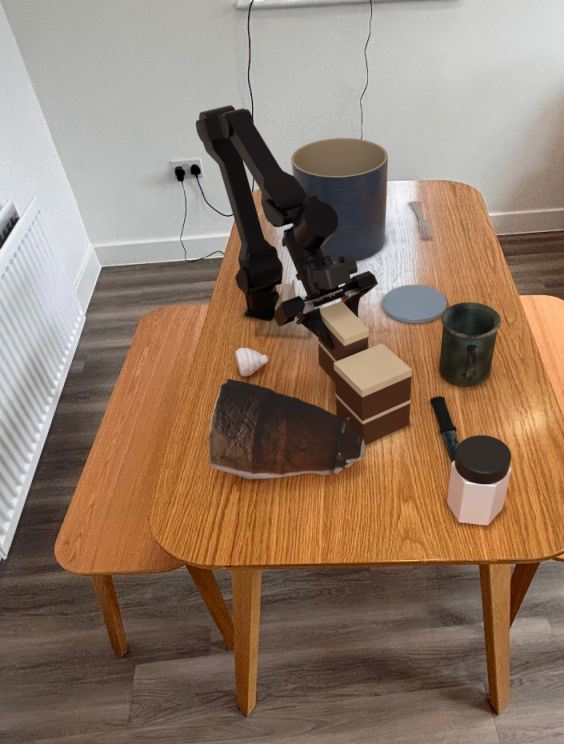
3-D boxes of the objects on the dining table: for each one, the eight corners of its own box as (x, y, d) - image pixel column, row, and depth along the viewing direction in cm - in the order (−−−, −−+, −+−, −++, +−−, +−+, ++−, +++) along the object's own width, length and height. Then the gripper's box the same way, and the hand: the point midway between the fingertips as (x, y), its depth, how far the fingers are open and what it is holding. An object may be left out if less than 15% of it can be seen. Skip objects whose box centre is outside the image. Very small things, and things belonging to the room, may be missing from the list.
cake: (336, 418, 118) (333, 362, 109) (381, 398, 122) (382, 342, 112) (363, 446, 113) (361, 390, 104) (409, 425, 117) (412, 369, 107)
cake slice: (318, 364, 122) (317, 309, 112) (340, 355, 124) (341, 300, 114) (343, 393, 118) (344, 339, 108) (365, 383, 119) (369, 329, 109)
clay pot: (370, 444, 96) (206, 410, 95) (352, 516, 107) (204, 486, 106) (377, 392, 107) (231, 360, 106) (360, 462, 118) (227, 434, 117)
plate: (374, 316, 140) (374, 312, 139) (394, 284, 148) (394, 280, 147) (436, 328, 136) (436, 324, 135) (453, 294, 144) (454, 290, 144)
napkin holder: (276, 324, 139) (272, 293, 133) (283, 306, 143) (279, 275, 138) (292, 324, 139) (288, 293, 133) (298, 307, 143) (295, 276, 137)
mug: (489, 354, 130) (497, 301, 120) (496, 401, 120) (506, 347, 111) (435, 354, 130) (439, 301, 121) (438, 401, 121) (444, 347, 111)
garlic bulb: (272, 376, 127) (269, 353, 123) (242, 382, 126) (238, 359, 122) (266, 360, 130) (262, 337, 126) (237, 366, 129) (233, 343, 125)
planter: (290, 228, 167) (282, 145, 151) (371, 215, 170) (371, 132, 155) (310, 270, 153) (303, 183, 138) (398, 255, 156) (401, 168, 141)
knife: (429, 397, 119) (445, 395, 120) (429, 403, 121) (444, 400, 121) (456, 476, 106) (473, 473, 106) (455, 481, 107) (473, 479, 107)
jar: (468, 479, 107) (476, 425, 98) (510, 501, 104) (523, 448, 95) (437, 510, 103) (443, 457, 94) (480, 535, 100) (490, 483, 90)
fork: (418, 211, 176) (418, 200, 174) (431, 239, 161) (432, 227, 159) (408, 212, 176) (408, 201, 174) (420, 239, 161) (421, 228, 159)
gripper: (274, 258, 101) (314, 351, 103) (372, 225, 107) (408, 314, 109) (258, 282, 111) (295, 366, 114) (348, 251, 118) (381, 331, 120)
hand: (345, 344), depth 114 cm, fingers closed on cake slice, 5 cm apart
